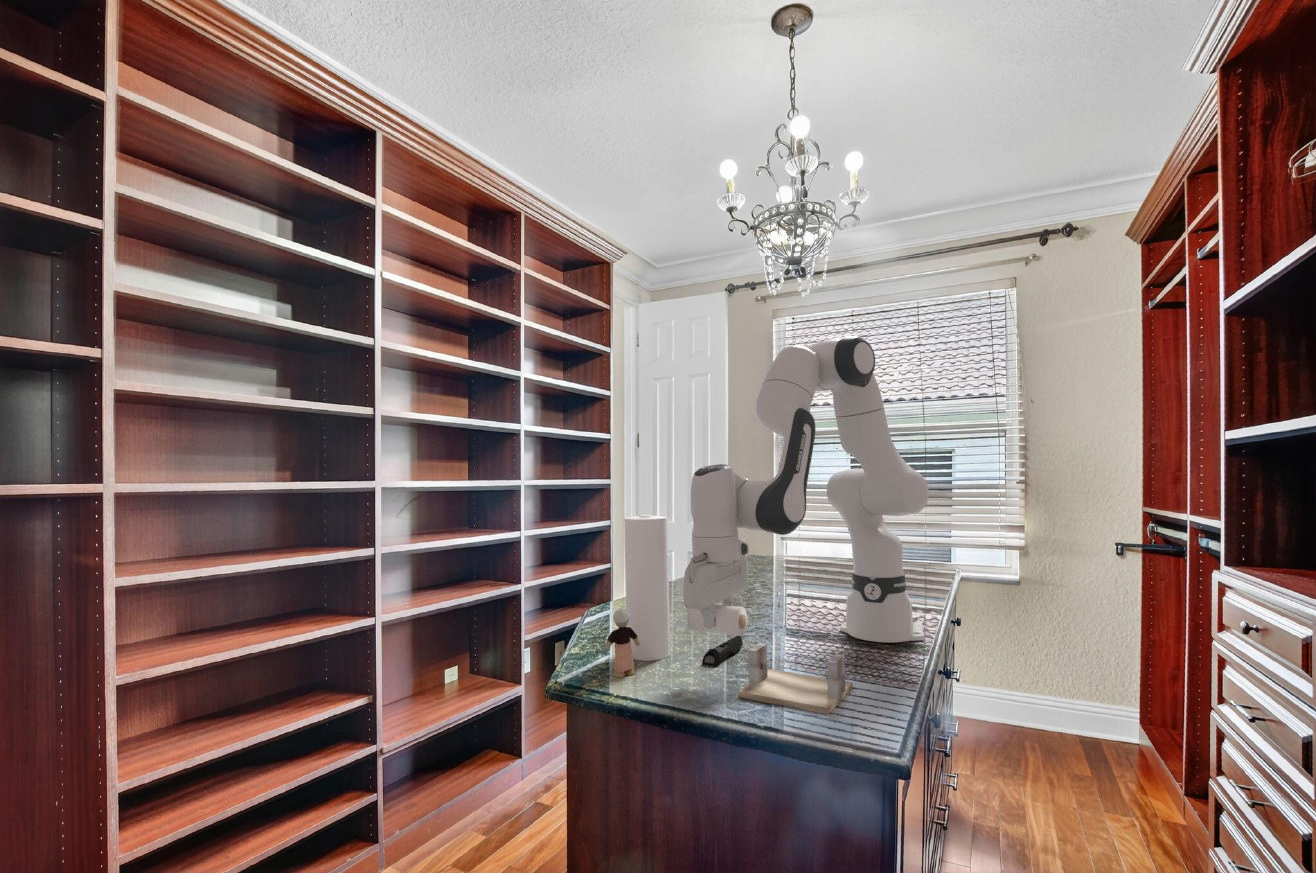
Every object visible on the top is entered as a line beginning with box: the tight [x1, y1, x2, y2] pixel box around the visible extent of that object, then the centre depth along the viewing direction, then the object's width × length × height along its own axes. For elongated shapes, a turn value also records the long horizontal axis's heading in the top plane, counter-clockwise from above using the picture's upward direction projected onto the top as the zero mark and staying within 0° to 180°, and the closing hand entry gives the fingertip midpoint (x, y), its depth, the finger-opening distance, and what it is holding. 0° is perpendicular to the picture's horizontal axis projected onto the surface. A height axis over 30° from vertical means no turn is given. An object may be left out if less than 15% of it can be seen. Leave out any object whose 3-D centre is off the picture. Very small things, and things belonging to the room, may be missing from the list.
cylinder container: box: [623, 514, 671, 662], centre depth 138 cm, size 9×9×30 cm
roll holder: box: [737, 642, 854, 715], centre depth 113 cm, size 14×16×7 cm
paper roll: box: [687, 603, 748, 637], centre depth 121 cm, size 11×5×5 cm
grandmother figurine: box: [604, 608, 640, 678], centre depth 125 cm, size 8×4×13 cm, turn 135°
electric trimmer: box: [701, 635, 744, 667], centre depth 135 cm, size 4×16×3 cm, turn 149°
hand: (718, 623), depth 120 cm, fingers closed on paper roll, 5 cm apart
